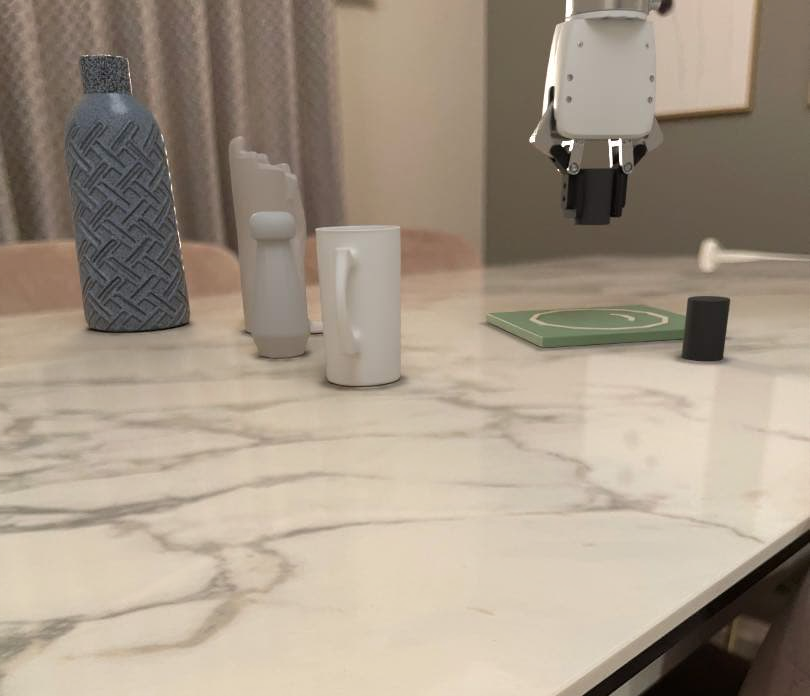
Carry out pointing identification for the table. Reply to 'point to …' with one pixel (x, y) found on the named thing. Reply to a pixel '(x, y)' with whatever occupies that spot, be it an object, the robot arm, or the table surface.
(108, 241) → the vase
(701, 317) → the black upright cylinder
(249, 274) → the foot sculpture
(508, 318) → the face board
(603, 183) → the black upright cylinder
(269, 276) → the salt shaker
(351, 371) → the mug
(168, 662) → the table surface
